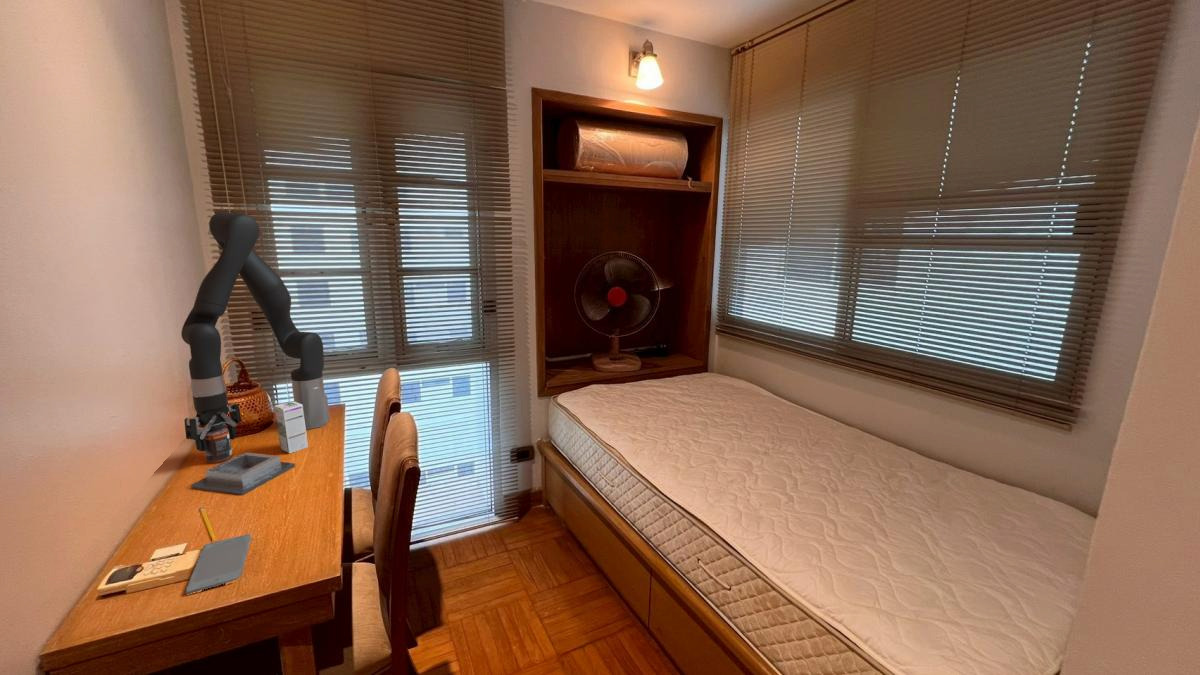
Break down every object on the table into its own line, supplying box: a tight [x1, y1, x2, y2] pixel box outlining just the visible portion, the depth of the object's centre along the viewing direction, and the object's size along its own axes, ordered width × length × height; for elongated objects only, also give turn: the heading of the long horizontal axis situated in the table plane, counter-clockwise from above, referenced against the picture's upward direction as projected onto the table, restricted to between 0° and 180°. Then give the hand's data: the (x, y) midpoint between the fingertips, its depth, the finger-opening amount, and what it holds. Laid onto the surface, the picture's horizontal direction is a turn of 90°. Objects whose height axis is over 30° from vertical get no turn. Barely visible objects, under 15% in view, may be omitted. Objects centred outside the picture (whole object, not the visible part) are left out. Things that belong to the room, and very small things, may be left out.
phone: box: [185, 533, 252, 595], centre depth 93 cm, size 8×16×1 cm, turn 30°
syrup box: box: [274, 400, 309, 454], centre depth 144 cm, size 6×6×14 cm
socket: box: [190, 452, 296, 496], centre depth 127 cm, size 16×16×4 cm
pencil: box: [199, 507, 217, 542], centre depth 106 cm, size 1×18×1 cm, turn 47°
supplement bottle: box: [204, 422, 233, 464], centre depth 137 cm, size 6×6×11 cm
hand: (217, 444), depth 137 cm, fingers open, 8 cm apart
